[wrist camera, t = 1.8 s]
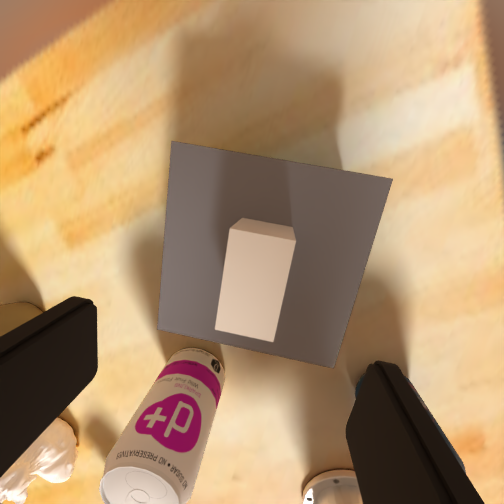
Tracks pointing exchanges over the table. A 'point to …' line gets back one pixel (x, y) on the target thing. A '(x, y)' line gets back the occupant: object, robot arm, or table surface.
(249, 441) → the table surface
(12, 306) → the squeeze bottle
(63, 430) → the white tied bag
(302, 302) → the lid
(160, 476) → the supplement can
